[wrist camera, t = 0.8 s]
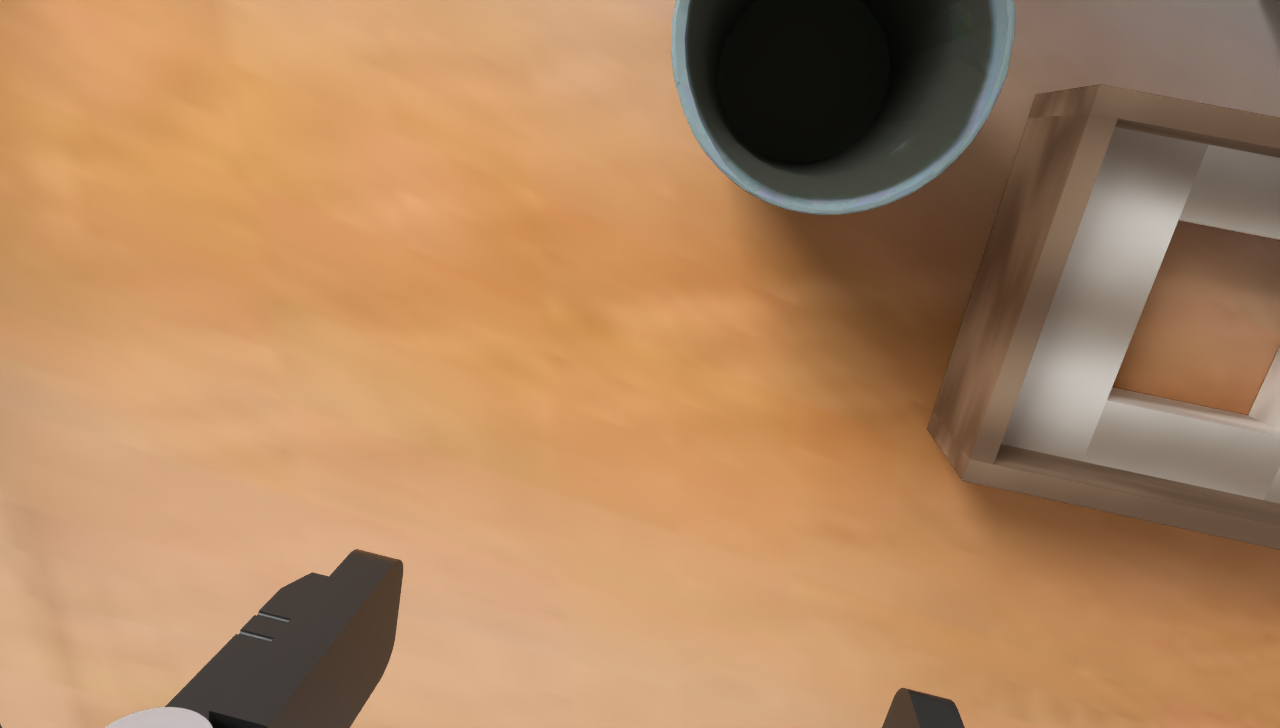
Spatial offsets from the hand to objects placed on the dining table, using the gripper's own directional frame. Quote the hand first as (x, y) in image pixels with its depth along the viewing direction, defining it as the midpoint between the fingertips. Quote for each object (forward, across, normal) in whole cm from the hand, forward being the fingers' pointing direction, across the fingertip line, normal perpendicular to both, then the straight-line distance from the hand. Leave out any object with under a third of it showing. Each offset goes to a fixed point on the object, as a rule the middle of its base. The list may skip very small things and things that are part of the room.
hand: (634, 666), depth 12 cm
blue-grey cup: (+27, -2, -11) cm, 29 cm away
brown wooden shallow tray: (+27, -22, -4) cm, 35 cm away
